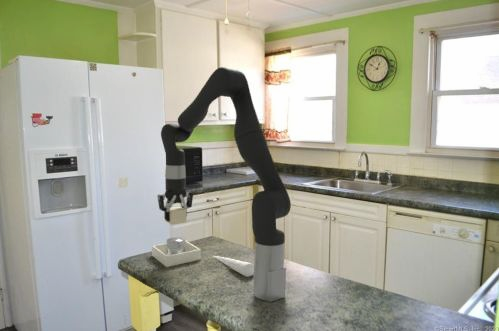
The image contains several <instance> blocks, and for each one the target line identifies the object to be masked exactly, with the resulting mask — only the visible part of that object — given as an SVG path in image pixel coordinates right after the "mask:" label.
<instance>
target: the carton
mask: <svg viewBox="0 0 499 331" xmlns="http://www.w3.org/2000/svg"><path fill="white" fill-rule="evenodd" d="M169 212H170V221H169V222H167V221H166V220H165V219H164V222H166V223H168V224H170V225H172V226H173V225H178V224H184V223H187V217H186V209H184V208H182V207H181V206H172V207H171V208H170V211H169Z"/></svg>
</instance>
